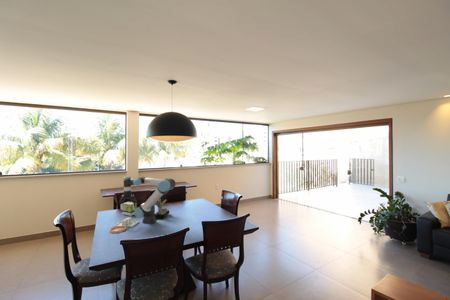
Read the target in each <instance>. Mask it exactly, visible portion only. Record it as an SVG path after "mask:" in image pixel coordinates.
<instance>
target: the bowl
mask: <svg viewBox="0 0 450 300" xmlns="http://www.w3.org/2000/svg"><path fill="white" fill-rule="evenodd" d="M126 230H127V227H126V226H115V227H113V226H112V227H110V228H109V233H111V234H118V233H122V232H125V231H126Z"/></svg>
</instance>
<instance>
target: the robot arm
mask: <svg viewBox="0 0 450 300" xmlns="http://www.w3.org/2000/svg"><path fill="white" fill-rule="evenodd" d="M140 185H152V186H157V187H156V190H155V191H154V192H153V193H152V194H151V195H150V197H148V199H147V200H146V201H145V202H143V203H141V204H140V205H139V206H137V208H136V209H135V203H137V204H138V201H137V198H136V197H135V194H132V186H137V187H138V186H140ZM176 185H177V183H176V181H175V179H173V178H156V177H155V178H154V177H147V176H141V177H137V178H135V177H134V178H132V177H131V176H124V177H123V194H121V195H120V197H119V200H118V202H117V204H119V207H120V210H121V211H123V210H122V209H123V203H124V201H126V200H130V202H133V210H134V209H135V211H134V214H135V215H134V216H135V217H136V218H137V219H142V224H144V225H154V224H156V223H157V218H155V214H156V210H155V209H156V208H155V207H156V205H155V203H156V202H157V201H159V199H161V198H162V196H163V195H166V194H168V192H169V191H171V190H173V189H174V188H175V187H176Z"/></svg>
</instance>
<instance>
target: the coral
mask: <svg viewBox="0 0 450 300" xmlns="http://www.w3.org/2000/svg"><path fill="white" fill-rule="evenodd" d="M166 202H167V199H164V200H163V201H162V198H159V199H158V201H157V202H156V203H155V207H156V206H157V209H158V211H157V212H155V218H156V219H165V218H166V217H167V216H168V215H170V210H169V209H168V208H166V207H164V208H163V206H164V205H165V203H166Z"/></svg>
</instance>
